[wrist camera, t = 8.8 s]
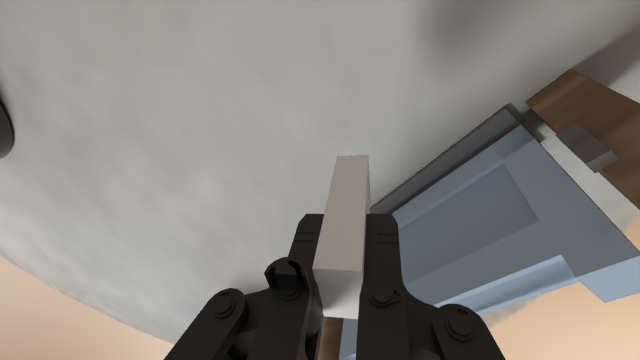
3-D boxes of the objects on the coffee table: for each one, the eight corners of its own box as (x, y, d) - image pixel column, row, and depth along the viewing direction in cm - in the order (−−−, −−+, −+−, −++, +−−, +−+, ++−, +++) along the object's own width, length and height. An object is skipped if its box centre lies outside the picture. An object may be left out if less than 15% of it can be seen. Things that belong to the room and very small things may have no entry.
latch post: (515, 98, 16) (683, 253, 7) (563, 61, 15) (854, 197, 6) (546, 129, 17) (735, 309, 8) (595, 98, 15) (899, 272, 6)
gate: (369, 250, 25) (361, 371, 17) (353, 239, 24) (338, 359, 17) (539, 143, 16) (669, 284, 9) (521, 124, 16) (641, 255, 8)
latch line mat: (343, 228, 25) (342, 231, 25) (504, 107, 17) (505, 108, 16) (373, 249, 26) (373, 252, 26) (540, 143, 17) (542, 145, 17)
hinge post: (330, 245, 27) (294, 415, 16) (346, 233, 25) (318, 410, 15) (349, 258, 27) (326, 430, 17) (366, 247, 26) (352, 427, 16)
